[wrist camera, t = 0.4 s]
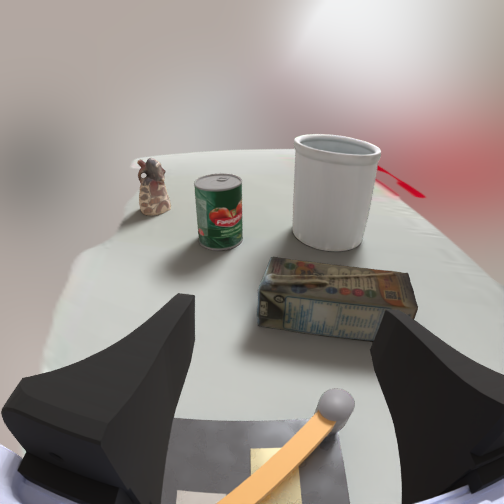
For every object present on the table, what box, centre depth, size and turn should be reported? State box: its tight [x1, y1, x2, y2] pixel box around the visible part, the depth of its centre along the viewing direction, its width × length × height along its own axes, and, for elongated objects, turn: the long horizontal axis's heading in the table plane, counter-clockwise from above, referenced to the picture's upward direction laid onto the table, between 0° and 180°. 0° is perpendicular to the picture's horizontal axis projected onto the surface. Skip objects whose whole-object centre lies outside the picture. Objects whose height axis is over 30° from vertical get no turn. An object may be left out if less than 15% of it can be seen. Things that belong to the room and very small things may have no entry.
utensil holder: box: [292, 134, 381, 251], centre depth 52 cm, size 15×15×18 cm
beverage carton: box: [257, 257, 418, 341], centre depth 37 cm, size 8×19×7 cm, turn 76°
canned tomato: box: [194, 174, 243, 251], centre depth 52 cm, size 8×8×11 cm
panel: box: [161, 418, 350, 504], centre depth 19 cm, size 15×21×2 cm
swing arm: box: [216, 388, 355, 504], centre depth 18 cm, size 18×3×3 cm, turn 136°
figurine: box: [137, 158, 171, 216], centre depth 64 cm, size 7×7×12 cm
